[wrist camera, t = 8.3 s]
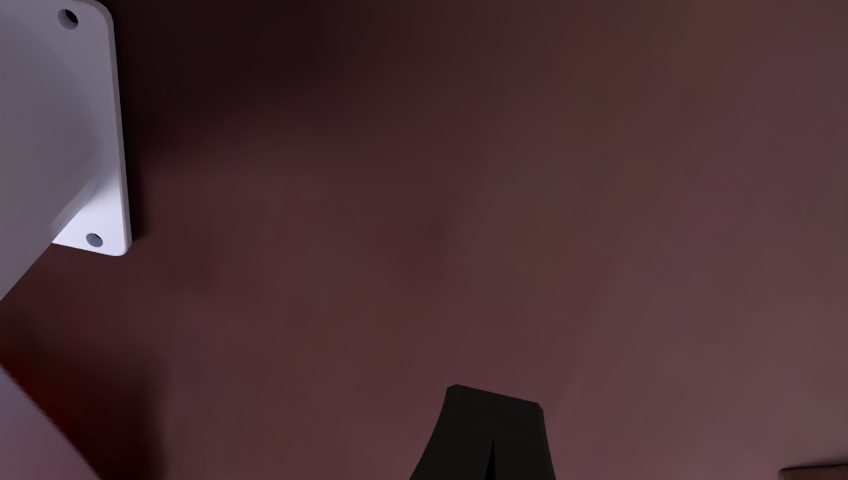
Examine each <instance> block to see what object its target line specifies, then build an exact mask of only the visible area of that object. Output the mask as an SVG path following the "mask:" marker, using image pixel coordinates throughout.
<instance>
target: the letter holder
mask: <svg viewBox="0 0 848 480" xmlns="http://www.w3.org/2000/svg"><path fill="white" fill-rule="evenodd" d="M778 480H848V465H837V466H824V467H807V468H794V469H784V470H782V471H780V472H779V475H778Z"/></svg>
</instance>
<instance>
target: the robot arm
mask: <svg viewBox="0 0 848 480" xmlns="http://www.w3.org/2000/svg"><path fill="white" fill-rule="evenodd" d="M66 9H68V10H70V11H72V12H73V13H74V14H75V15H76V17H77V20H78V24H76V23H74V22H72V21H71V20H70V19H69V18H68V17H67V15H66V12H65V10H66ZM93 233H94V234H97V235H99V236H100V237H101V238H102V240H101V239H99V238H97V237H96V236H95V235H94V234H93ZM131 242H132V238H131V226H130V214H129V203H128V191H127V179H126V167H125V156H124V144H123V132H122V120H121V109H120V97H119V85H118V74H117V62H116V50H115V38H114V27H113V20H112V17H111V14H110V13H109V11H108V10H107V8H106V7H105V6H103V5H102V4H101V3H100V2H98V1H95V0H0V300H1V299H2V298H3V297H4V296H5V295H6V294H7V293H8V291H9V290H10V289H11V288H12V287H13V286H14V285H15V283H16V282H17V281H18V280H19V279H20V278H21V277H22V275H23V274H24V273H25V272H26V271H27V270H28V269H29V268H30V266H31V265H32V264H33V263H34V262H35V261H36V260H37V258H38V257H39V256H40V255H41V254H42V253H43V252H44V251H45V249H46V248H47V247H48V246H49V245H50V244H51V243H57V244H62V245H66V246H71V247H75V248H80V249H85V250H89V251H94V252H99V253H103V254H108V255H112V256H120V255H123V254H124V253H125V252H126V251H127V250H128V248H129V247H130V246H131ZM409 480H556V478H555V474H554V469H553V465H552V461H551V456H550V451H549V446H548V441H547V435H546V429H545V423H544V415H543V410H542V408H541V407H540V406H539V404H538V403H535V402H531V401H526V400H522V399H518V398H513V397H509V396H505V395H501V394H496V393H492V392H488V391H483V390H479V389H475V388H471V387H466V386H462V385H458V384H456V385H453V386H450V387H448V388H447V391H446V395H445V399H444V403H443V407H442V410H441V413H440V416H439V419H438V421H437V424H436V426H435V429H434V431H433V433H432V436H431V438H430V440H429V442H428V444H427V447H426V449H425V451H424V453H423V455H422V457H421V459H420V461H419V463H418V465H417V467H416V468H415V470H414V472H413V474H412V476H411V478H410V479H409Z"/></svg>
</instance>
